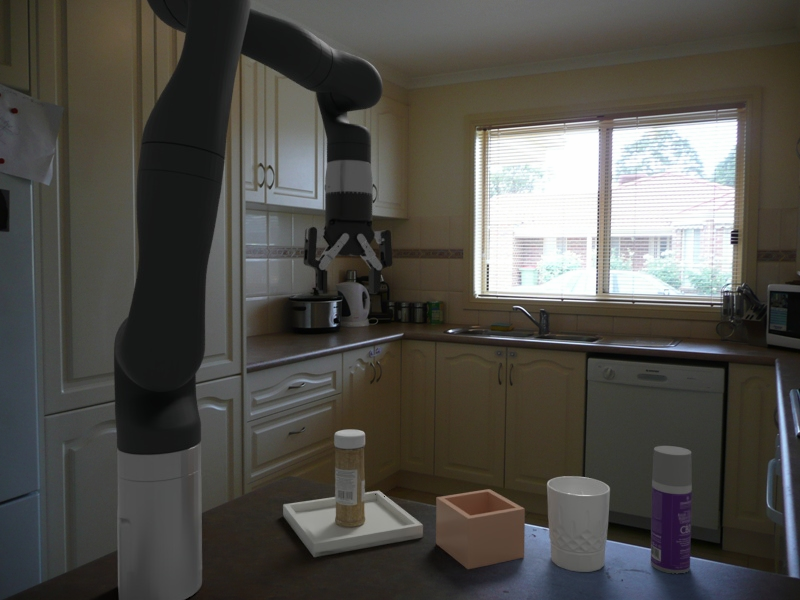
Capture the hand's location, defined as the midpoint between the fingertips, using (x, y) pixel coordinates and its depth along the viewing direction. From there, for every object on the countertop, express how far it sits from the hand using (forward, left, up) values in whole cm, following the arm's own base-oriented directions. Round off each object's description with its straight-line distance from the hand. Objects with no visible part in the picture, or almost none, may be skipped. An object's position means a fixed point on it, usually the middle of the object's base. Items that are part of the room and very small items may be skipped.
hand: (348, 293), depth 104 cm
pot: (+10, -24, -34) cm, 43 cm away
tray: (-3, -9, -34) cm, 35 cm away
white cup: (+20, -32, -34) cm, 51 cm away
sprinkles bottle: (-3, -9, -34) cm, 35 cm away
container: (+30, -38, -34) cm, 59 cm away
